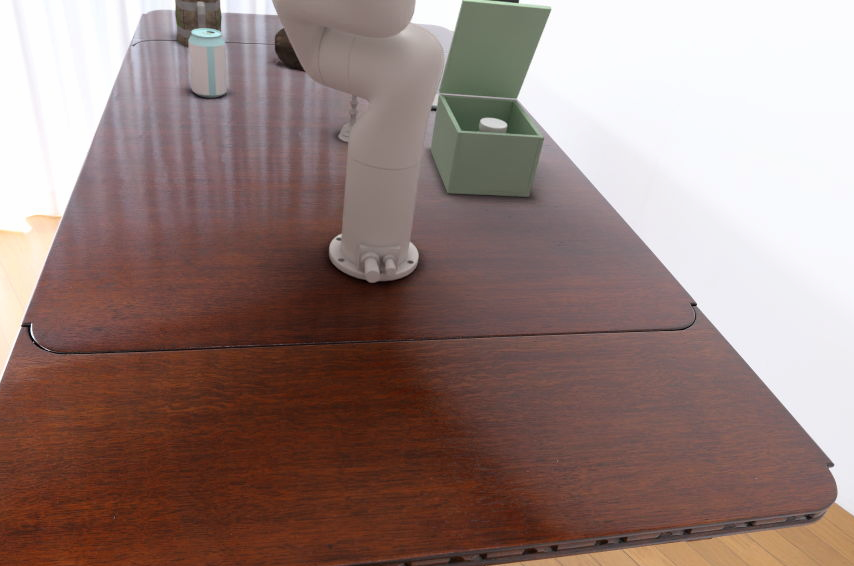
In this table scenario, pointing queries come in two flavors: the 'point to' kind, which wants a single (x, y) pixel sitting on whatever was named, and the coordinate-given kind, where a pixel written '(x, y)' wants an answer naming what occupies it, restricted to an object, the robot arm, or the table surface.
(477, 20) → the lid
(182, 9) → the mug
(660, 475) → the table surface
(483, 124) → the pill bottle
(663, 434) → the table surface
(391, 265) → the robot arm
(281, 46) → the dark brown bone
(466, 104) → the dish box
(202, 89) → the can
